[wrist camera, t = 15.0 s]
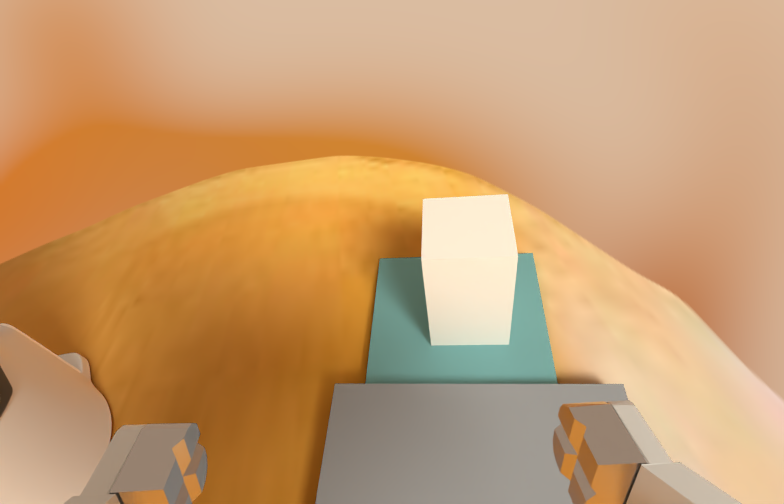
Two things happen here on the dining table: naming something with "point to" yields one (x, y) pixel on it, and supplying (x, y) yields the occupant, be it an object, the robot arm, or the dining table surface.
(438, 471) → the deck
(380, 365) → the mat
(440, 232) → the cream block
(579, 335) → the dining table surface
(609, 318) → the dining table surface
